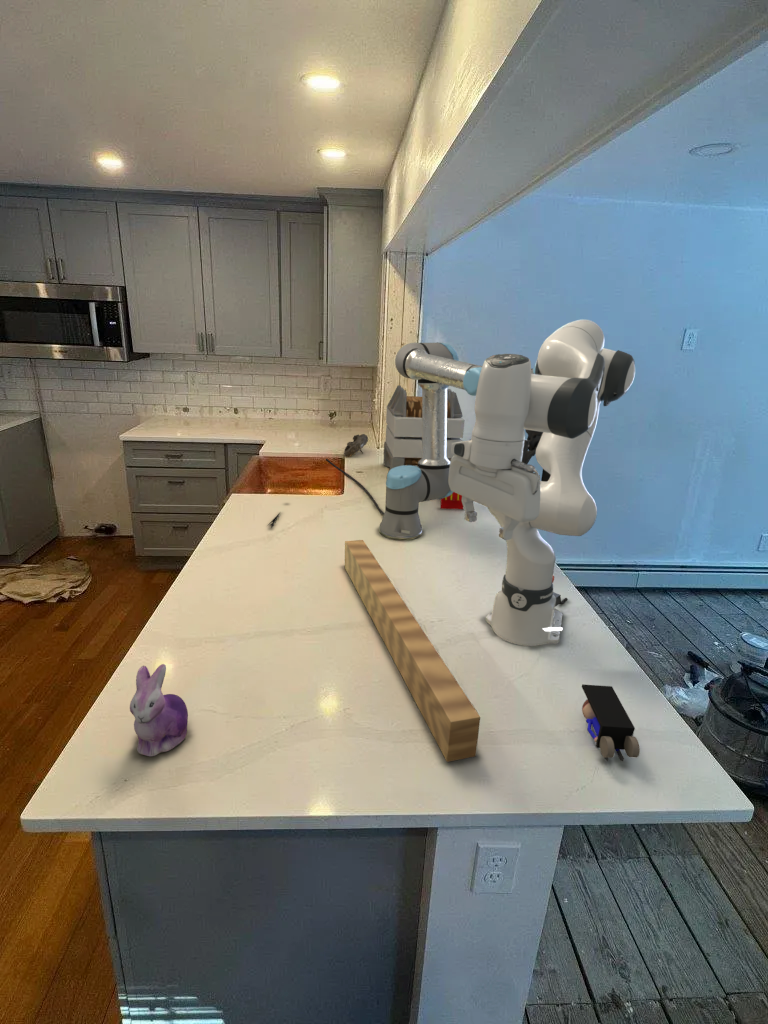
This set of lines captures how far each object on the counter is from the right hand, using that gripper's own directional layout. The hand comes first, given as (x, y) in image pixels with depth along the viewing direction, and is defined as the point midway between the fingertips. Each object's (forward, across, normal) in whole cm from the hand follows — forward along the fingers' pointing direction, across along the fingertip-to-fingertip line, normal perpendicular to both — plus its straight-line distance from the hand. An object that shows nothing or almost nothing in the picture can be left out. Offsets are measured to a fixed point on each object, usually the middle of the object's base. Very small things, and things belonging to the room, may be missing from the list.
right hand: (487, 529), depth 101 cm
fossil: (+36, +193, -78) cm, 211 cm away
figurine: (+39, +19, +54) cm, 69 cm away
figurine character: (+38, -19, -18) cm, 46 cm away
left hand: (+12, +42, -54) cm, 70 cm away
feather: (+38, +119, -6) cm, 125 cm away
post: (+38, +29, -1) cm, 48 cm away
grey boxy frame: (+36, +147, -89) cm, 175 cm away
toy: (+37, +110, -77) cm, 139 cm away
